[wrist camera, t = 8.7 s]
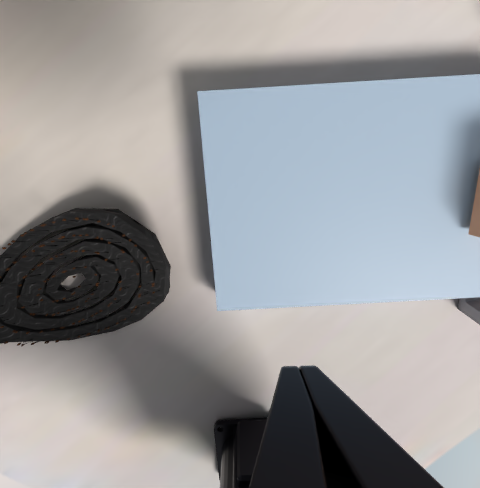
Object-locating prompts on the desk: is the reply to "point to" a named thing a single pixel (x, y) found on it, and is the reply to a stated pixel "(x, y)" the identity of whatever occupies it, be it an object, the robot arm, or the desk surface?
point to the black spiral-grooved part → (91, 266)
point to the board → (342, 191)
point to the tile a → (476, 212)
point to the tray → (470, 308)
